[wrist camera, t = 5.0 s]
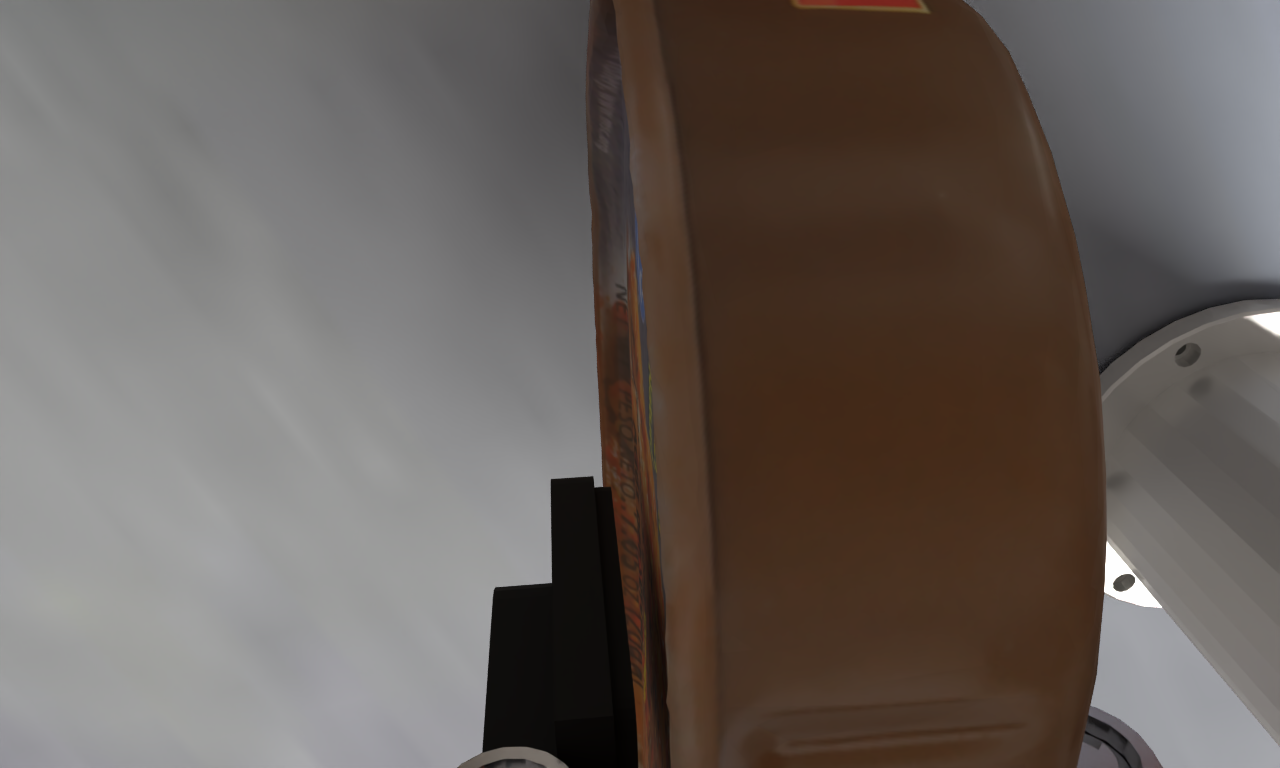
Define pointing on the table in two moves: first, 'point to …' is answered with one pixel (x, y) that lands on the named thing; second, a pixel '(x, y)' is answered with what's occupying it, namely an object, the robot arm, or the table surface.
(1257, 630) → the robot arm
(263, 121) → the table surface
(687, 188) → the tin
